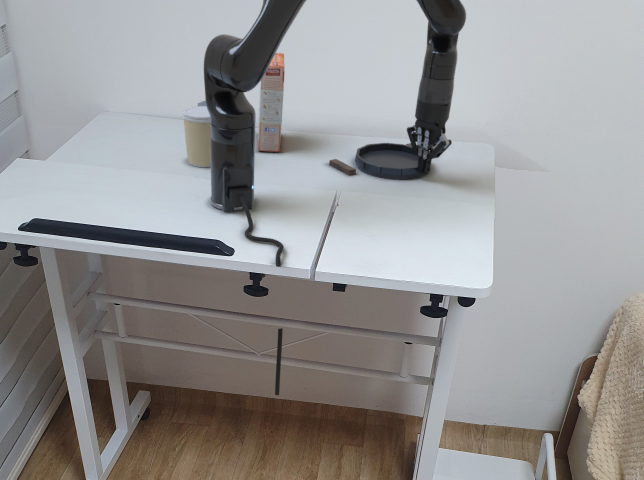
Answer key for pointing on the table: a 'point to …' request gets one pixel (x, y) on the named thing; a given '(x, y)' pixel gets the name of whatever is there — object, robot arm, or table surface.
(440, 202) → the table surface
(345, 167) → the walnut strips
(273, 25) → the robot arm
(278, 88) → the cracker box
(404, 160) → the plate
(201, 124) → the coffee cup
